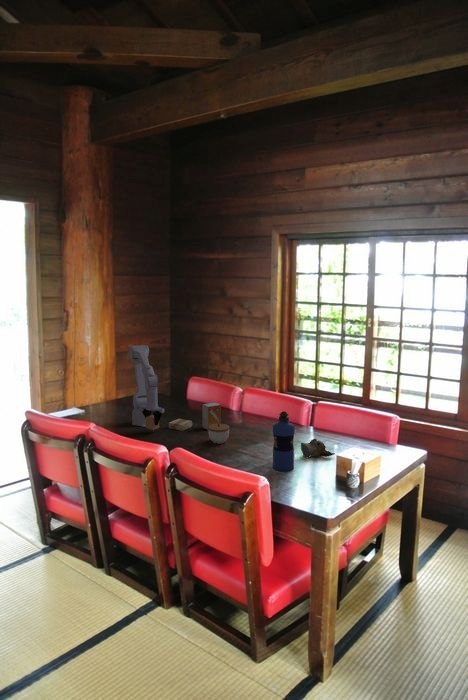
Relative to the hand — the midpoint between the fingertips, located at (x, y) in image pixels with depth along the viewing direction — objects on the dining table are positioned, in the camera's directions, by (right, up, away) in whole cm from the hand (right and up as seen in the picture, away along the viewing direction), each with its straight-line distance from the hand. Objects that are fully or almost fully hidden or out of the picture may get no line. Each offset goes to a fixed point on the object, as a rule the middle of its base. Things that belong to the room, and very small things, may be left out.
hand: (152, 424), depth 278 cm
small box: (+31, -3, +9) cm, 32 cm away
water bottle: (+64, -12, -50) cm, 82 cm away
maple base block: (+14, -4, +10) cm, 17 cm away
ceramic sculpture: (+80, -10, -35) cm, 88 cm away
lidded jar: (+35, -7, -14) cm, 39 cm away
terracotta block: (0, -2, 0) cm, 2 cm away
